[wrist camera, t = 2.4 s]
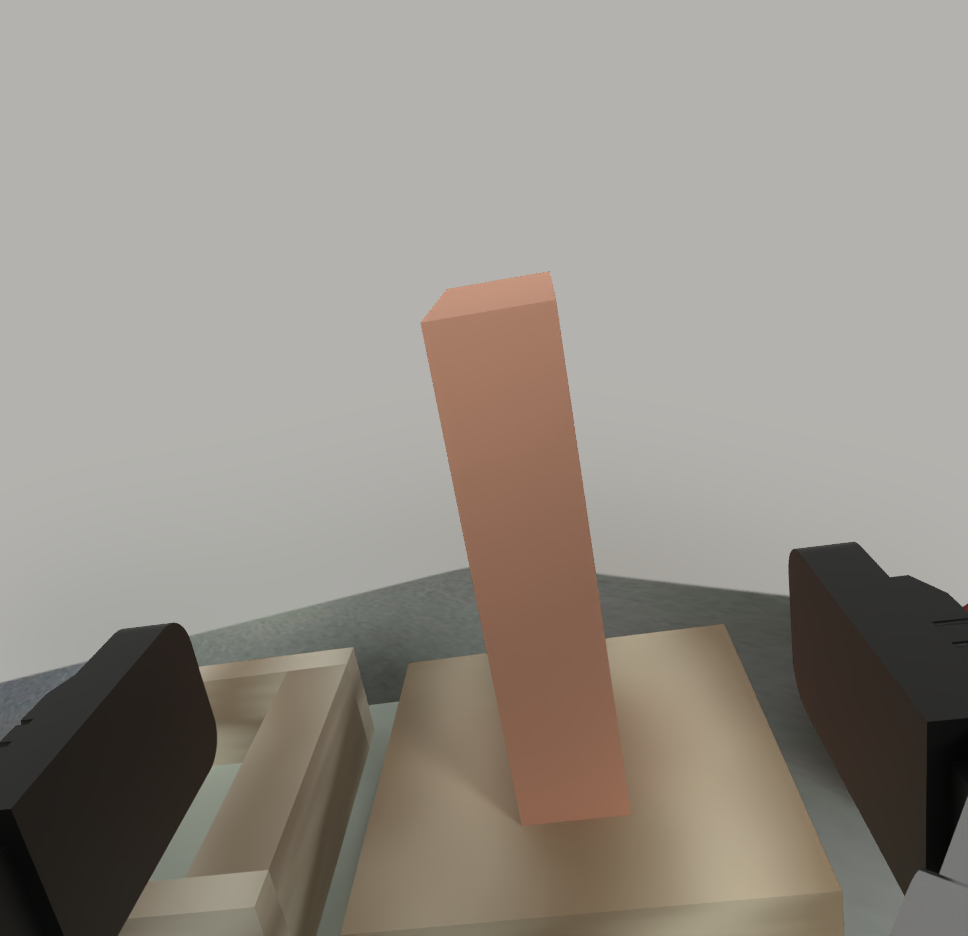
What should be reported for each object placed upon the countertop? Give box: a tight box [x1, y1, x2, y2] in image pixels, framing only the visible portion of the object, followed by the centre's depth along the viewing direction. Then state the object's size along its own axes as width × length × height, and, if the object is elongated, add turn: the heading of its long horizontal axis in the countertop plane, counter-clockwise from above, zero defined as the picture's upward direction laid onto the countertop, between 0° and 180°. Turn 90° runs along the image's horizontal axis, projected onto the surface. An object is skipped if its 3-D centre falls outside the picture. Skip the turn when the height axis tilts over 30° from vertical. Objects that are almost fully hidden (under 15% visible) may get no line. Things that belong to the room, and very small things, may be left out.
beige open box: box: [118, 647, 375, 936], centre depth 28 cm, size 9×12×4 cm
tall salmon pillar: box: [421, 271, 631, 826], centre depth 23 cm, size 3×6×14 cm, turn 177°
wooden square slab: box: [340, 624, 844, 936], centre depth 26 cm, size 12×12×4 cm
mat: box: [148, 702, 399, 936], centre depth 28 cm, size 11×16×1 cm
